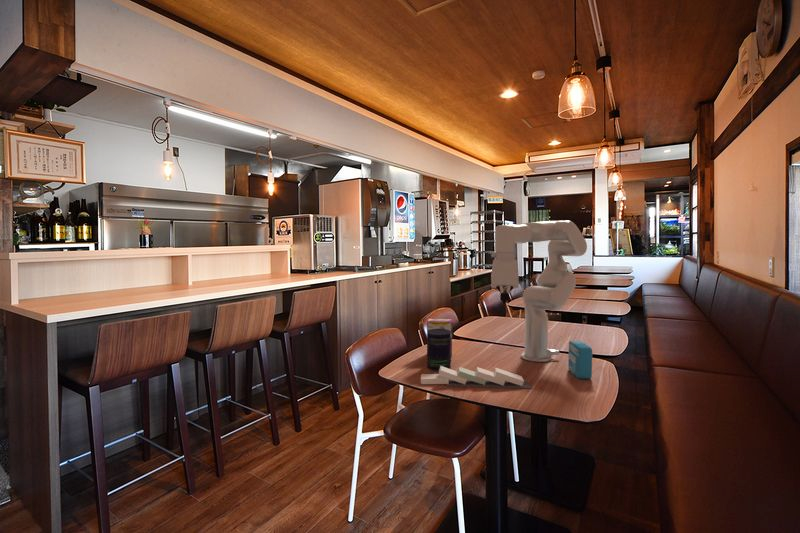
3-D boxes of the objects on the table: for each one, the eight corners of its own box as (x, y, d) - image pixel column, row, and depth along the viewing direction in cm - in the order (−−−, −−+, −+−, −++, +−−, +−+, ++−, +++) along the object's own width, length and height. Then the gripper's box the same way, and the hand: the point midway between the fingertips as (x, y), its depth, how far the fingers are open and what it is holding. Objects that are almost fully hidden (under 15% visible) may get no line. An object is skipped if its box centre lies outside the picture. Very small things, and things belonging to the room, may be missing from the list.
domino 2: (466, 374, 150) (440, 365, 151) (466, 379, 145) (440, 370, 146) (464, 379, 151) (438, 370, 151) (465, 384, 146) (438, 375, 146)
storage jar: (447, 372, 160) (447, 335, 159) (423, 369, 163) (423, 333, 162) (453, 364, 169) (453, 329, 168) (430, 362, 173) (430, 328, 171)
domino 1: (448, 373, 151) (421, 374, 152) (448, 378, 146) (420, 378, 147) (448, 379, 151) (421, 379, 153) (448, 383, 146) (421, 384, 148)
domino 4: (521, 376, 148) (495, 367, 149) (524, 381, 143) (496, 371, 144) (519, 381, 148) (493, 372, 149) (522, 386, 143) (494, 376, 144)
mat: (527, 381, 149) (527, 380, 149) (531, 388, 142) (531, 387, 142) (446, 379, 153) (446, 378, 153) (447, 386, 145) (447, 385, 145)
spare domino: (485, 375, 150) (459, 366, 151) (486, 380, 145) (459, 371, 146) (483, 380, 150) (457, 371, 151) (484, 385, 145) (457, 376, 146)
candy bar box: (426, 357, 180) (426, 320, 179) (427, 353, 185) (427, 318, 184) (452, 357, 179) (452, 321, 178) (451, 354, 184) (451, 318, 183)
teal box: (568, 369, 162) (568, 339, 161) (579, 369, 162) (580, 339, 161) (579, 380, 150) (580, 348, 149) (591, 380, 150) (592, 348, 149)
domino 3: (503, 375, 149) (477, 366, 150) (505, 380, 144) (478, 371, 145) (501, 380, 149) (475, 371, 150) (503, 385, 144) (476, 376, 145)
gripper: (486, 257, 157) (486, 304, 158) (526, 256, 155) (525, 304, 157) (484, 256, 164) (484, 300, 166) (522, 255, 163) (521, 301, 164)
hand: (504, 302), depth 161 cm, fingers closed
